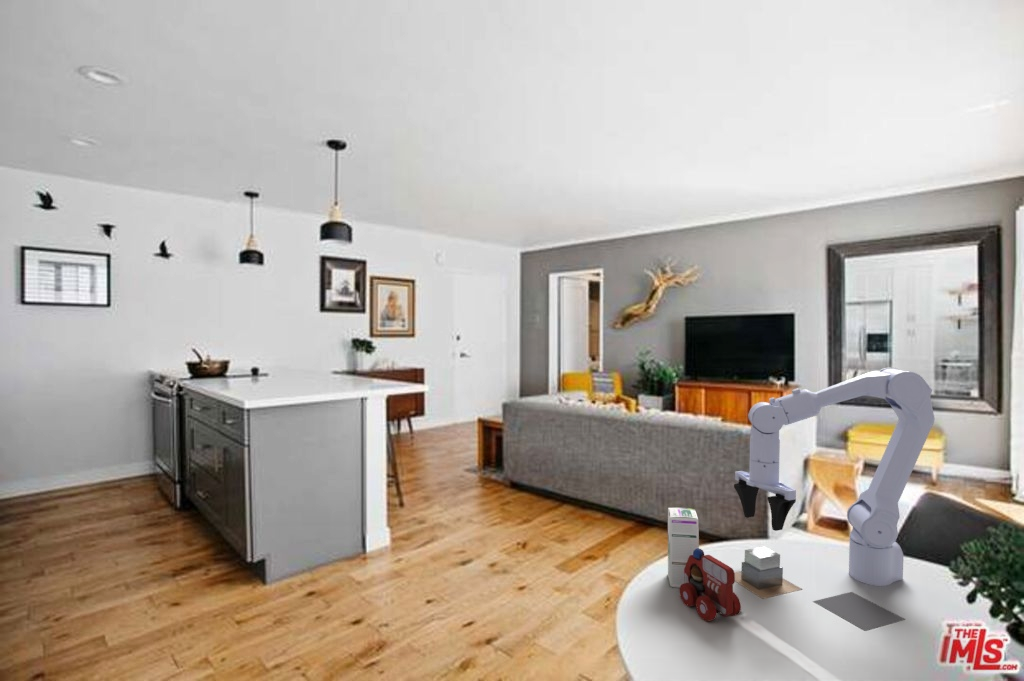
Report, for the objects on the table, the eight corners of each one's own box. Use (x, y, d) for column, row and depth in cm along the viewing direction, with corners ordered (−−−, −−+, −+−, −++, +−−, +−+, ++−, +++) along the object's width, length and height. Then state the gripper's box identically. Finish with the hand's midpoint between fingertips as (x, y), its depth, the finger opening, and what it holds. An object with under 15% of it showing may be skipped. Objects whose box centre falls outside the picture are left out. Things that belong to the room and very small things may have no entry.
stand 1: (762, 573, 114) (762, 566, 114) (802, 596, 104) (802, 589, 104) (724, 581, 110) (724, 574, 110) (762, 606, 101) (762, 598, 101)
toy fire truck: (702, 589, 107) (703, 538, 107) (747, 623, 95) (748, 565, 95) (672, 595, 105) (673, 543, 104) (715, 630, 93) (715, 571, 93)
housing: (764, 574, 110) (765, 545, 110) (782, 584, 106) (783, 554, 106) (741, 579, 108) (741, 550, 108) (758, 589, 104) (759, 559, 104)
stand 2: (851, 599, 103) (851, 591, 103) (905, 627, 94) (905, 619, 94) (812, 609, 100) (812, 601, 100) (864, 639, 90) (864, 630, 90)
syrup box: (699, 590, 107) (700, 518, 106) (668, 587, 108) (669, 516, 107) (695, 576, 112) (696, 508, 112) (666, 573, 114) (667, 506, 113)
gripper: (724, 453, 119) (723, 513, 120) (777, 470, 106) (776, 538, 106) (749, 450, 122) (748, 509, 122) (804, 467, 108) (802, 533, 109)
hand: (763, 522), depth 114 cm, fingers open, 7 cm apart
